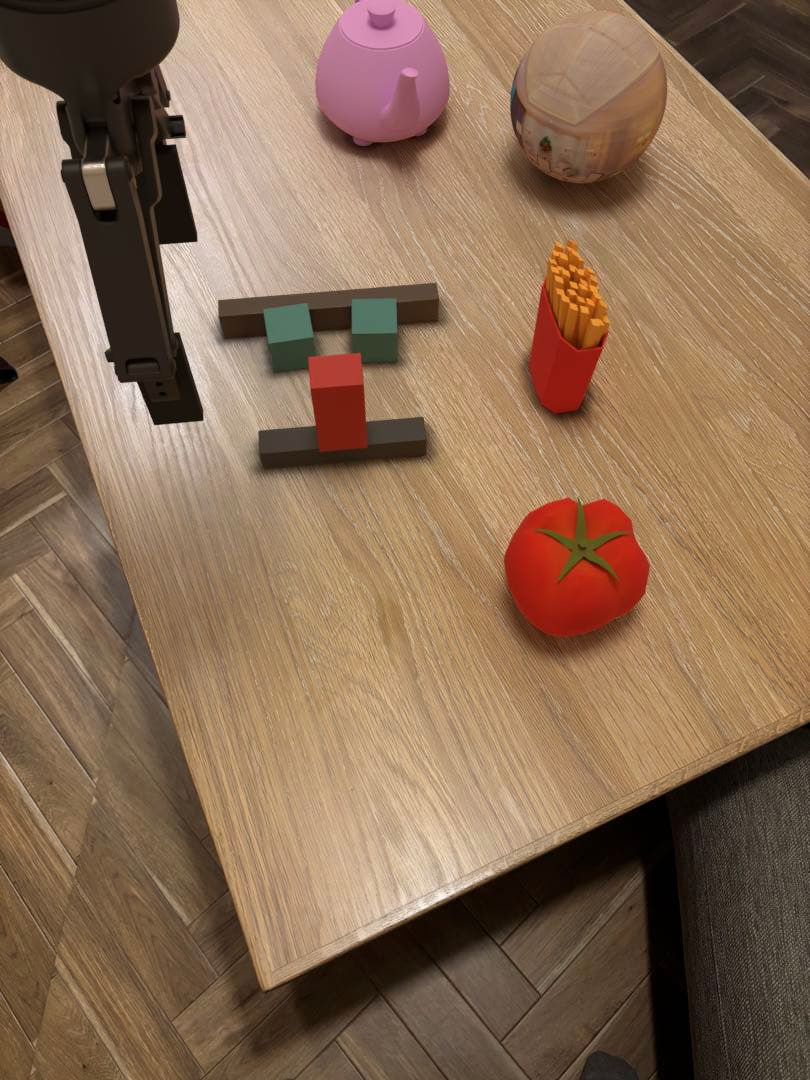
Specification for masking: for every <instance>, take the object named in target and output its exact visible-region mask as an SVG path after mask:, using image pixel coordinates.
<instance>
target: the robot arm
mask: <svg viewBox="0 0 810 1080" xmlns="http://www.w3.org/2000/svg"><path fill="white" fill-rule="evenodd" d="M180 19H181V17H180V12H179V7H178V2H177V0H0V61H1V62H2V63H3V64H4V65H5V66H6V68H7V69H9V70H10V71H11V72H13V74H15V75H17V76H18V77H20V78H21V79H23V80H25V81H27V82H29V83H32V84H33V85H37V86H40V87H41V88H44V89H46V90H48V91H50V92H52V93H53V94H55V95H56V96H58V97H59V98H61V99H62V100H56V102H55V111H56V116H57V121H58V126H59V131H60V135H61V138H62V140H63V141H64V142H65V144H66V145H67V146H68V148H69V152H70V157H71V158H65V159H62V160H61V163H60V167H61V169H60V177H61V181H62V183H63V184H64V186H65V187H66V191H67V194H68V197H69V200H70V202H71V206H72V209H73V211H74V213H75V217H76V219H77V223H78V227H79V231H80V235H81V239H82V241H83V242H82V243H83V246H84V251H85V255H86V259H87V263H88V267H89V270H90V274H91V278H92V281H93V282H92V283H93V287H94V290H95V294H96V298H97V301H98V306H99V309H100V314H101V318H102V321H103V326H104V329H105V334H106V337H107V341H108V345H109V348H107V349H106V350H105V351H104V353H103V354H104V357H105V359H106V362H107V363H110V364H111V363H113V365H114V366H113V369H114V374H115V376H116V377H117V381H118V382H119V383H120V384H128V383H129V384H130V383H137V386H138V388H139V391H140V394H141V396H142V398H143V401H144V404H145V405H146V409H147V411H148V414H149V416H150V418H151V421H152V422H153V426H165V425H174V424H175V425H176V424H185V423H196V422H204V421H205V418H204V417H205V416H204V408H203V405H202V401H201V397H200V395H199V391H198V389H197V385H196V382H195V379H194V375H193V372H192V368H191V365H190V361H189V358H188V355H187V352H186V348H185V346H184V342H183V339H182V335H181V333H180V332H177V331H176V332H175V331H174V323H173V317H172V312H171V307H170V300H169V294H168V289H167V288H168V287H167V283H166V276H165V271H164V264H163V258H162V252H161V245H174V244H175V245H177V244H188V243H198V241H199V240H198V230H197V227H196V223H195V218H194V214H193V209H192V205H191V202H190V197H189V193H188V189H187V184H186V181H185V176H184V172H183V168H182V164H181V160H180V155H179V152H178V148H177V144H176V143H174V144H173V143H171V144H168V143H167V140H176V139H178V140H179V139H186V138H187V131H186V122H185V119H184V118H185V117H184V115H183V114H173V115H169V114H168V112H167V110H166V109H168V108H170V107H171V106H170V102H171V101H172V96H171V91H170V90H169V89H168V87H167V83H166V80H165V77H164V75H163V72H162V70H161V69H162V68H161V66H160V64H161V63H162V62H164V60H165V59H166V58H167V57H168V56H169V55H170V53H171V51H173V49H174V47H175V45H176V42H177V39H178V37H179V33H180V27H181V20H180Z"/></svg>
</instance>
